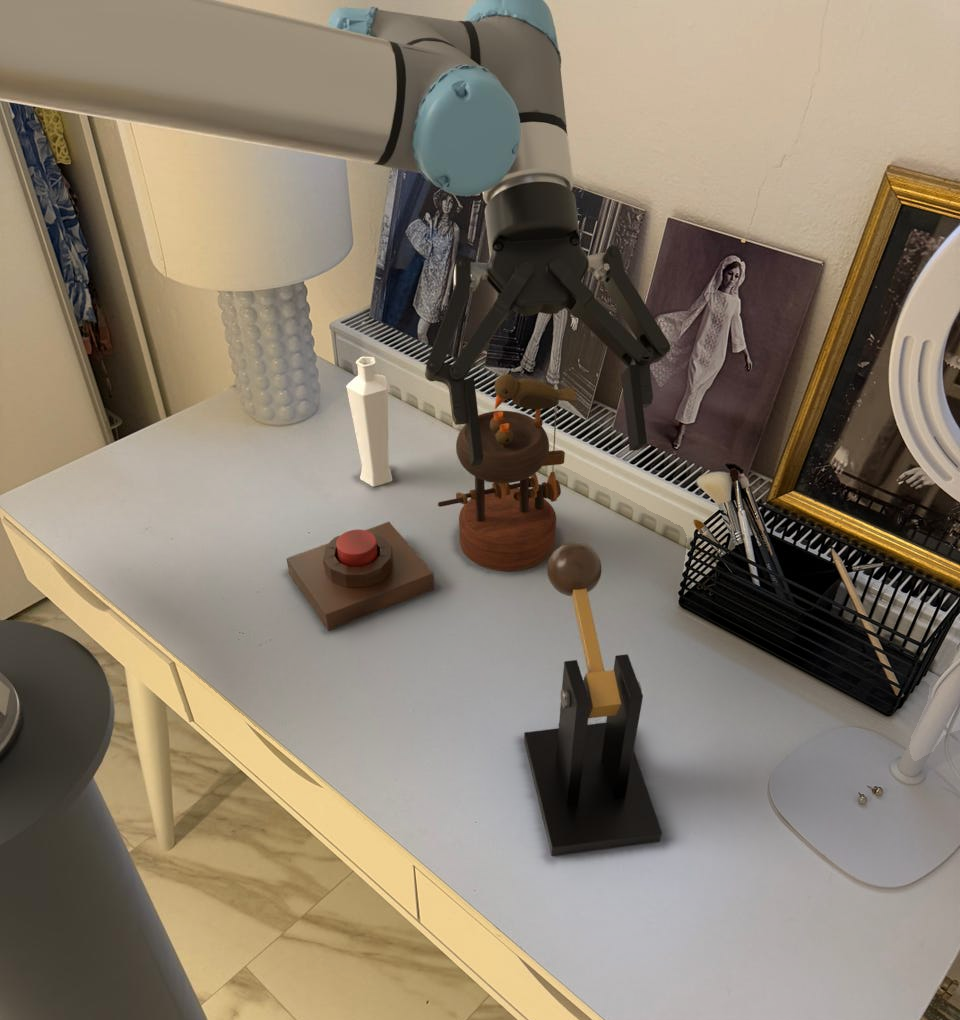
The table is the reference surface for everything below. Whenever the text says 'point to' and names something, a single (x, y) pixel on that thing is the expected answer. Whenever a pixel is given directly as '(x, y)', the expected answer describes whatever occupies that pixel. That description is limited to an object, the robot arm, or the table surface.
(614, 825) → the lever bracket
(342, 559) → the button
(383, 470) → the perfume bottle
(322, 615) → the button housing
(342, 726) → the table surface
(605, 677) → the lever
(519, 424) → the music box
